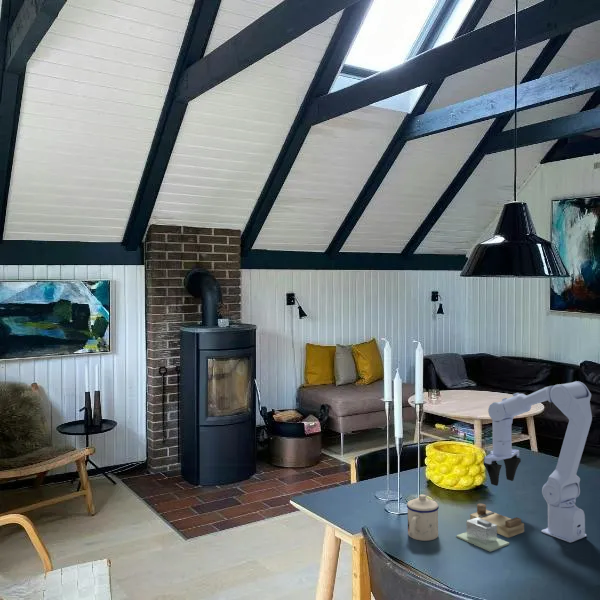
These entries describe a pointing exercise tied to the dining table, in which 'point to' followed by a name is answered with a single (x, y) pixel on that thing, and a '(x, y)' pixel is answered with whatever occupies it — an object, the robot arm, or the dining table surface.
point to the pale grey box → (481, 530)
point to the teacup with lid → (422, 519)
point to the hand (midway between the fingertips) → (502, 482)
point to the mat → (488, 547)
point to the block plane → (499, 521)
